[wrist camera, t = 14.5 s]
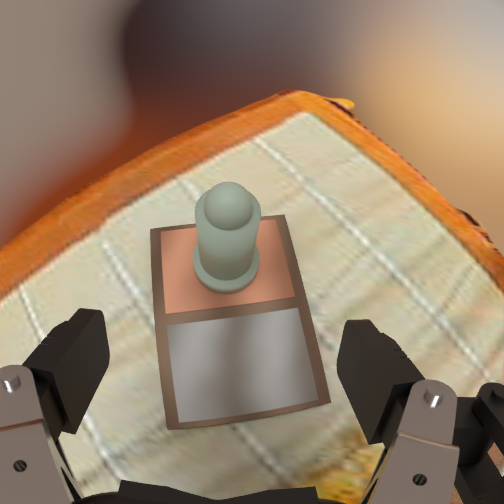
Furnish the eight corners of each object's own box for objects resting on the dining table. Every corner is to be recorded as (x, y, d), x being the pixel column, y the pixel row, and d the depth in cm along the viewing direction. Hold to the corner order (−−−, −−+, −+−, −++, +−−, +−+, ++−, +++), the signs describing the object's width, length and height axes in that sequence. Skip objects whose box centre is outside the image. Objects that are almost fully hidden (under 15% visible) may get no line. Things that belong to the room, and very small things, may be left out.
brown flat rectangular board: (282, 220, 33) (284, 214, 32) (327, 402, 24) (331, 402, 23) (152, 234, 31) (150, 228, 30) (169, 429, 22) (167, 429, 21)
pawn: (251, 233, 30) (264, 156, 21) (263, 289, 28) (283, 224, 19) (191, 240, 29) (181, 163, 21) (197, 298, 27) (186, 234, 18)
